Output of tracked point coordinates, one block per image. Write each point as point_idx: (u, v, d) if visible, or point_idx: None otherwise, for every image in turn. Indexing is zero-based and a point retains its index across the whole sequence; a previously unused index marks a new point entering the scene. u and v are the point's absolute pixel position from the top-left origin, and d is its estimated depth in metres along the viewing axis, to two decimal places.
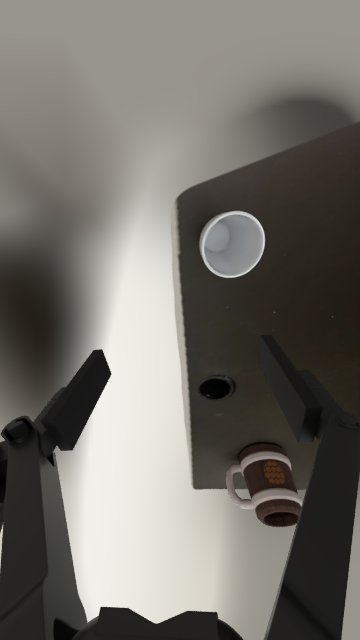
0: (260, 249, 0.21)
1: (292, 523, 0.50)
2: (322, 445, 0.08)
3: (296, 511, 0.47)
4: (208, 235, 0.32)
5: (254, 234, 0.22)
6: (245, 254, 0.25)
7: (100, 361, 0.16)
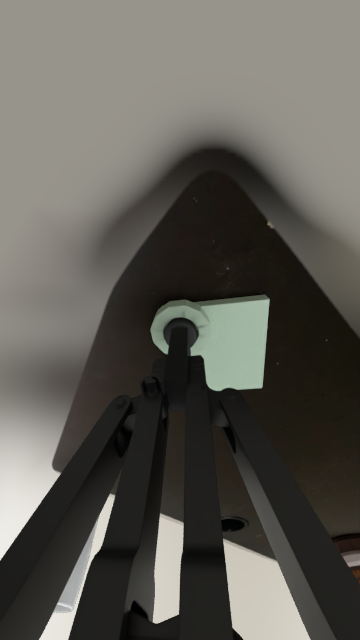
0: (61, 600, 0.23)
1: None
2: (187, 416, 0.10)
3: None
4: None
5: None
6: None
7: None
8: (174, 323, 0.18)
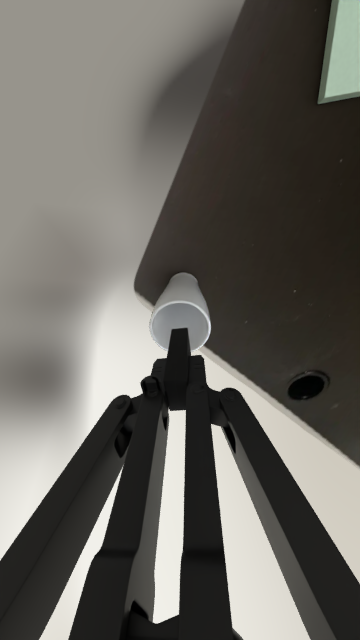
0: (202, 312, 0.20)
1: None
2: (187, 416, 0.10)
3: None
4: None
5: None
6: None
7: None
8: None
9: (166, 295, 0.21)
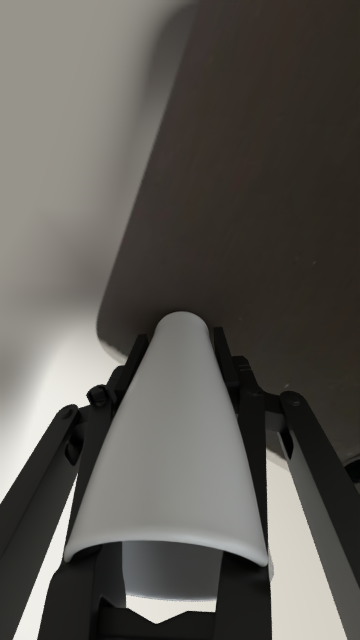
0: None
1: None
2: (239, 417, 0.09)
3: None
4: None
5: None
6: None
7: (146, 344, 0.17)
8: None
9: (126, 444, 0.07)
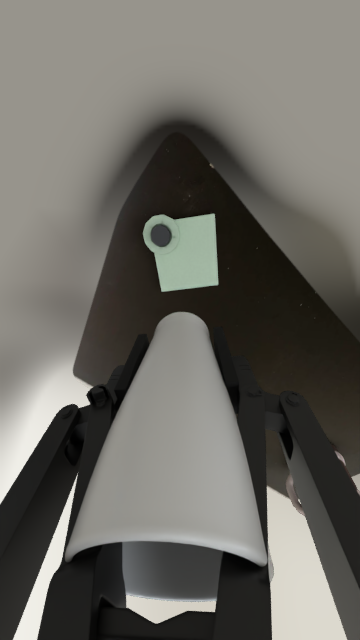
0: None
1: None
2: (239, 417, 0.09)
3: None
4: None
5: None
6: None
7: (146, 344, 0.17)
8: (156, 226, 0.30)
9: (126, 445, 0.07)
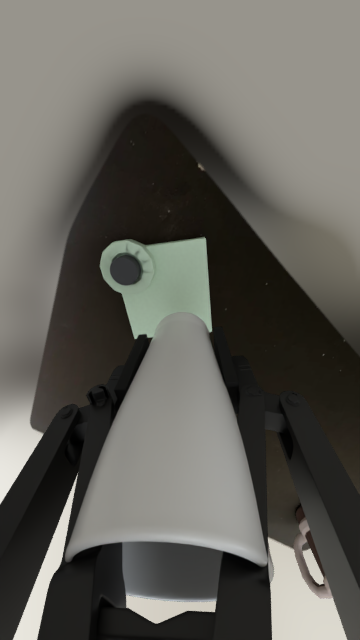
0: None
1: None
2: (239, 417, 0.09)
3: None
4: None
5: None
6: None
7: (146, 344, 0.17)
8: None
9: (126, 446, 0.07)
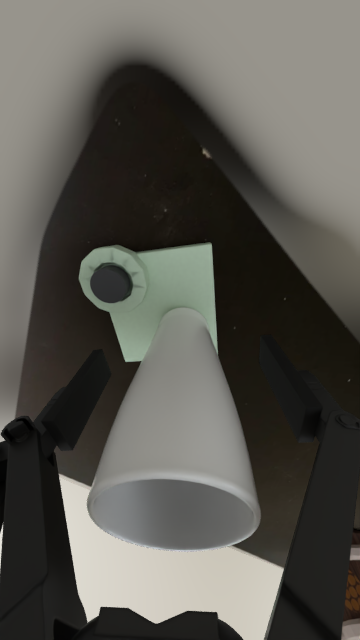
0: None
1: None
2: (322, 445, 0.08)
3: None
4: None
5: None
6: None
7: (100, 361, 0.16)
8: (99, 269, 0.16)
9: (137, 414, 0.08)
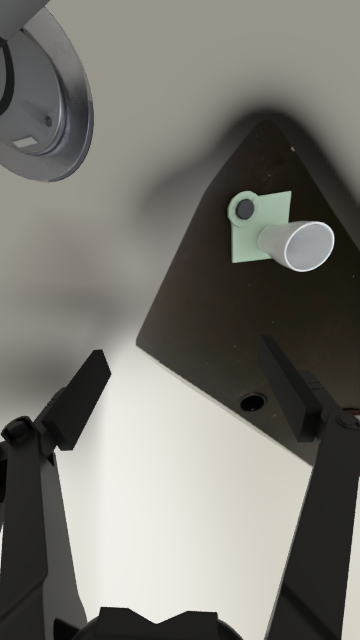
0: (329, 232, 0.26)
1: None
2: (322, 445, 0.08)
3: None
4: None
5: (312, 225, 0.28)
6: (313, 238, 0.31)
7: (100, 361, 0.16)
8: None
9: (295, 224, 0.28)
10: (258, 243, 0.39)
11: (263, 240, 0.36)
